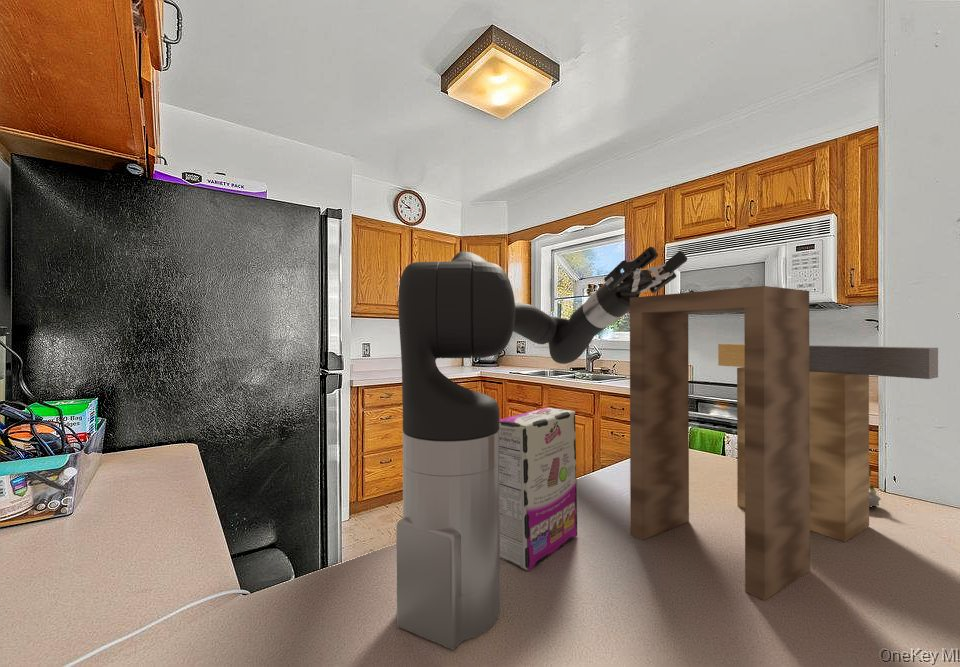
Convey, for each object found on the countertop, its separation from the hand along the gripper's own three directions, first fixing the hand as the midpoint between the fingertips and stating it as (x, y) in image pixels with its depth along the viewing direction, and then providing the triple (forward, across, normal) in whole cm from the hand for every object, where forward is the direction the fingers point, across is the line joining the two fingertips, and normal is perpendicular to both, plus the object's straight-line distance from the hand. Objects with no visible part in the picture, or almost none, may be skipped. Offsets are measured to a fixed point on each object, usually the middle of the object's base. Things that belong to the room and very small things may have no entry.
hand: (670, 252), depth 76 cm
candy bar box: (-15, -36, +39) cm, 55 cm away
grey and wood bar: (+8, +2, +28) cm, 29 cm away
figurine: (-1, +14, +47) cm, 49 cm away
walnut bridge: (-5, -18, +44) cm, 48 cm away
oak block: (-4, +2, +45) cm, 45 cm away
